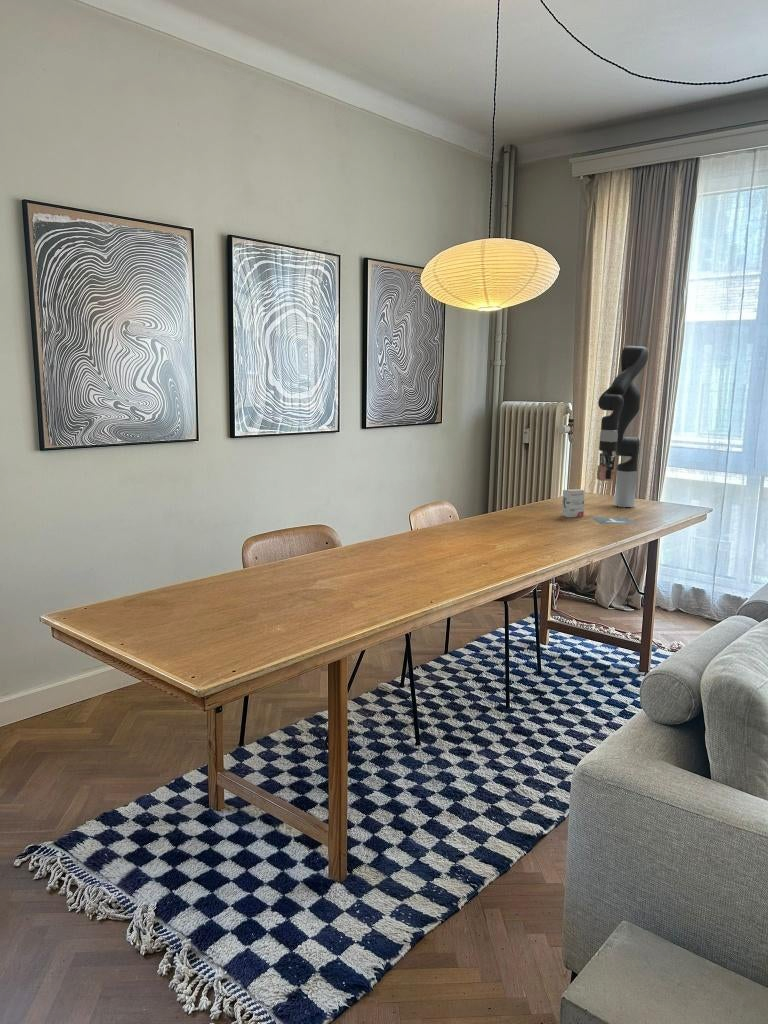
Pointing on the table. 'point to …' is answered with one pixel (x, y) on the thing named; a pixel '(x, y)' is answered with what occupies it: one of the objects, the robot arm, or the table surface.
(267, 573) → the table surface
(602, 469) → the painted cube
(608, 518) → the letter card
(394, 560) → the table surface
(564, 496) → the ink box
